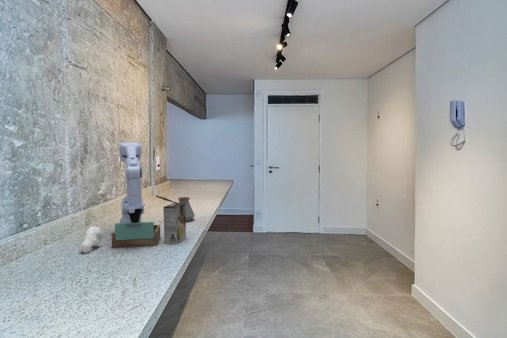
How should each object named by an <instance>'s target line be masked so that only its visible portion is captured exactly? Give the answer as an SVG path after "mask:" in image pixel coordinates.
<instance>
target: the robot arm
mask: <svg viewBox="0 0 507 338" xmlns="http://www.w3.org/2000/svg"><path fill="white" fill-rule="evenodd" d="M118 145H119V147H118V148H119V149H118V150H119V159H120V161H121V162H123V163H124V164H125V168H124V173H125V174H124V177H125V182H126V183H125V184H126V196H124V197H123V198H122V199H121V206H120V207H121V215H122V216H121V217H120V219H119V223H136V222H142V215H144V212H145V206H146V204H144V199H143V197H142V195H143V194H142V191H143V190H142V179H143V167H142V165H141V163H140V161H141V159H142V153H143V150H142V143H141V142H119V144H118Z"/></svg>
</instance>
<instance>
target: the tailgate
mask: <svg viewBox="0 0 507 338" xmlns="http://www.w3.org/2000/svg"><path fill="white" fill-rule="evenodd" d="M154 225H155V222H154V221H143V222H142V221H141V222H136V223H120V222H118V223H115V224H114V231H115V240H131V239H150V238H154Z"/></svg>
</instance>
